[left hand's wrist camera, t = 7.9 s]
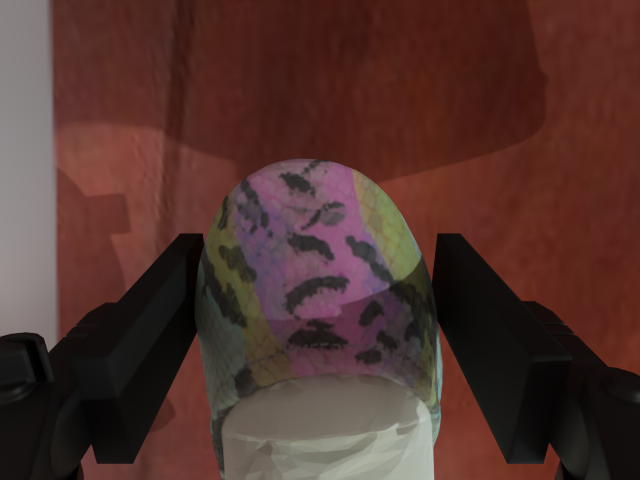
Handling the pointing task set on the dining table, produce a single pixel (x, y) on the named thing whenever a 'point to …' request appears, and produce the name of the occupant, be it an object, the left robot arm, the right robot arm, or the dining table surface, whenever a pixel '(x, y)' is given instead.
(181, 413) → the dining table surface
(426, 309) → the ballet flat
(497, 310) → the left robot arm
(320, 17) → the dining table surface
